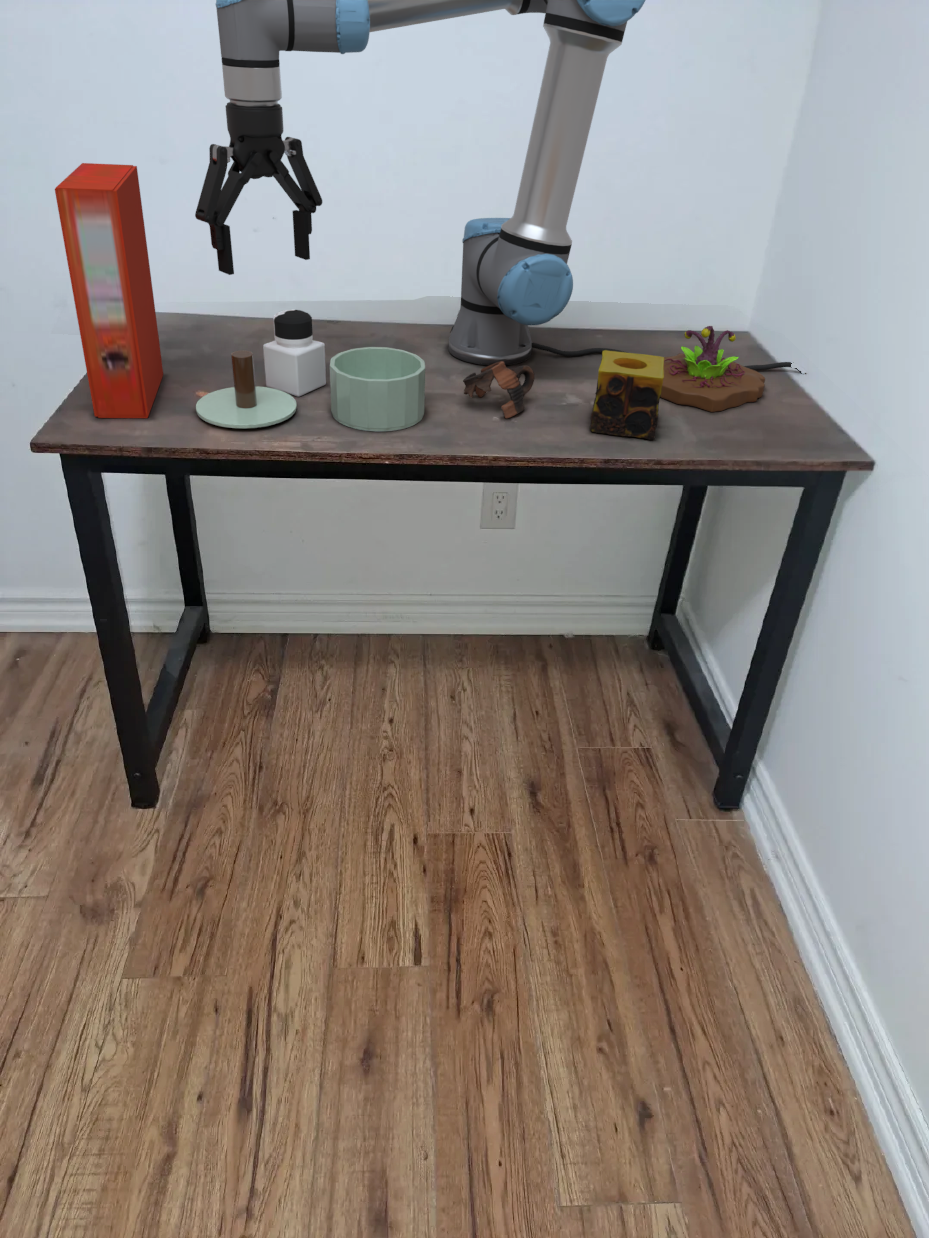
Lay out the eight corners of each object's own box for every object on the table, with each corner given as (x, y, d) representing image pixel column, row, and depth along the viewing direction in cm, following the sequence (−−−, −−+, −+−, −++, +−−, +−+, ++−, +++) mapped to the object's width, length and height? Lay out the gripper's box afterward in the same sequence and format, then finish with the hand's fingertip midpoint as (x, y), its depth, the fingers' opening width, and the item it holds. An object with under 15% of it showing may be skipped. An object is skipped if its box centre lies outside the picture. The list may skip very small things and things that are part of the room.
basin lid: (279, 388, 154) (276, 332, 148) (310, 424, 143) (307, 365, 137) (186, 400, 148) (178, 342, 142) (210, 438, 137) (203, 377, 132)
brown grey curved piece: (495, 427, 146) (473, 378, 144) (468, 431, 155) (447, 384, 152) (554, 395, 150) (534, 346, 148) (525, 400, 159) (506, 354, 156)
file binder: (165, 376, 155) (136, 164, 137) (150, 418, 142) (116, 189, 123) (115, 375, 154) (78, 163, 136) (95, 418, 140) (51, 187, 122)
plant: (620, 384, 162) (630, 320, 156) (680, 359, 175) (692, 298, 168) (721, 420, 152) (736, 352, 145) (778, 390, 164) (794, 327, 157)
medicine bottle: (327, 385, 156) (324, 312, 149) (298, 397, 151) (294, 323, 144) (294, 374, 159) (290, 303, 152) (265, 387, 154) (259, 313, 147)
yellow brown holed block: (654, 442, 144) (665, 379, 138) (588, 433, 145) (597, 371, 139) (656, 416, 152) (667, 356, 146) (594, 408, 153) (602, 348, 147)
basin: (401, 390, 156) (402, 343, 151) (438, 423, 145) (440, 374, 141) (319, 401, 150) (316, 352, 145) (351, 437, 140) (350, 386, 135)
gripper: (309, 94, 136) (316, 247, 148) (155, 103, 121) (177, 273, 133) (343, 100, 132) (347, 257, 144) (188, 111, 117) (207, 285, 129)
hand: (265, 265), depth 138 cm, fingers open, 13 cm apart
